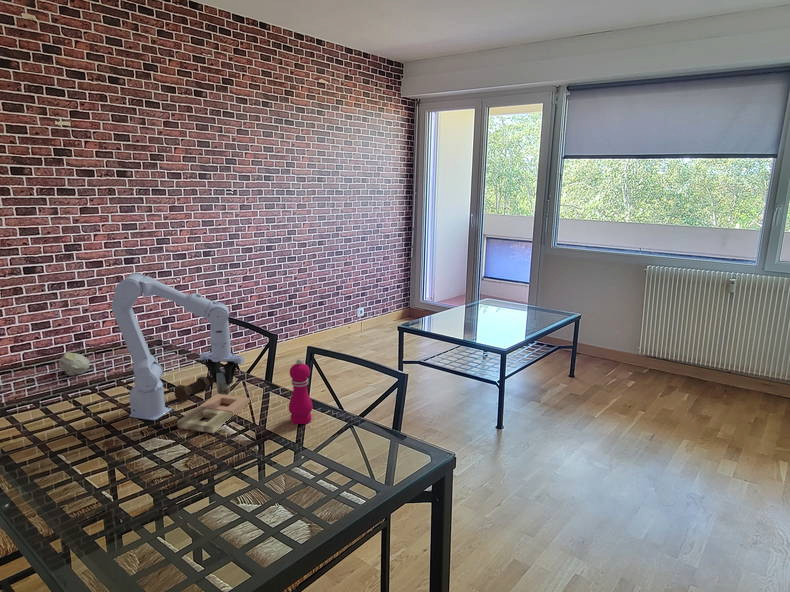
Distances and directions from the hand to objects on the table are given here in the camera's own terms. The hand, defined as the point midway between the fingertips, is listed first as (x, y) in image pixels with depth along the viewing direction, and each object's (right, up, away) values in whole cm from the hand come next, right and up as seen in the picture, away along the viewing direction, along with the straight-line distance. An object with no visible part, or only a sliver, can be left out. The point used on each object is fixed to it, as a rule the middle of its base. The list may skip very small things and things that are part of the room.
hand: (223, 382), depth 164 cm
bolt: (-13, -6, +14) cm, 20 cm away
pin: (0, -3, +1) cm, 3 cm away
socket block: (0, -8, +2) cm, 9 cm away
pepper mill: (+26, -11, -5) cm, 28 cm away
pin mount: (-3, -11, -8) cm, 14 cm away
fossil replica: (-64, -1, +28) cm, 70 cm away
